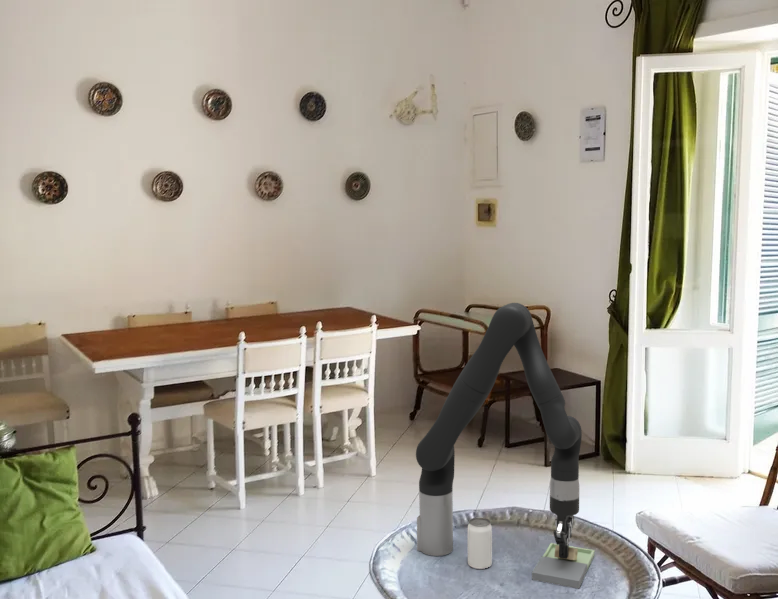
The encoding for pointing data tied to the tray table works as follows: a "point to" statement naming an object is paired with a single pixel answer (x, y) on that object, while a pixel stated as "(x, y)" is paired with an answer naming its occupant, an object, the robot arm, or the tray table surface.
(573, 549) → the tan square block
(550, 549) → the box
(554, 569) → the plate
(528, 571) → the tray table surface
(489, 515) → the tray table surface
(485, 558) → the can
